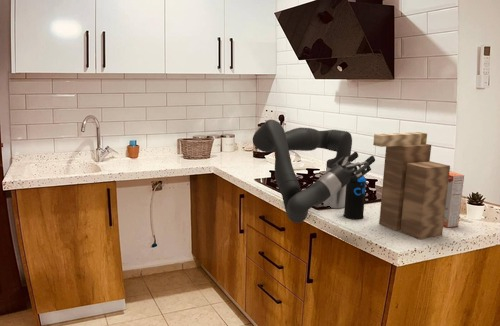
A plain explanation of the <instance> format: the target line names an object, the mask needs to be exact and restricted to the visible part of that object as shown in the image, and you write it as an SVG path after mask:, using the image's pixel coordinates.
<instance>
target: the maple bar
mask: <svg viewBox="0 0 500 326" xmlns="http://www.w3.org/2000/svg"><path fill="white" fill-rule="evenodd" d="M427 139H428V133H427V132H418V131H416V132H396V133H393V132H392V133H374V135H373V144H372V145H373V146H376V147H381V148H382V147H383V148H386V147H387V146H402V145H418V144H427V142H428V141H427Z"/></svg>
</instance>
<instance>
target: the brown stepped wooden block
mask: <svg viewBox="0 0 500 326" xmlns="http://www.w3.org/2000/svg"><path fill="white" fill-rule="evenodd" d="M431 152H432V144H429V143H426V144H418V145H402V146H387V147H385V154H384V155H385V156H384V166H383V176H382V177H383V179H382V189H381V198H380V199H381V200H380V209H379V210H380V211H379V220H378V221H379V222H378V224H379V225H380V226H383V227H386V228H387V229H390V230H393V231H395V232H400V233H402V234H405V235H407V236H410V237H411V238H412V237H413V238H415V239H417V240H423V239H427V238H434V237H438V236H443V230H444V226H443V223H444V214H445V206H446V197H447V189H448V180H449V172H450V171H451V170H450V169H451V165H448V164H444V163H439V162H434V161H431Z"/></svg>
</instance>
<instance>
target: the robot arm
mask: <svg viewBox="0 0 500 326" xmlns="http://www.w3.org/2000/svg"><path fill="white" fill-rule="evenodd" d="M252 144H253V146H255V148H256V149H258V150H259V151H262V152H265V153H273V152H274V158H275V159H274V177H275V178H274V179H275V181H276V184H277V186H278V189H279V191H280V195H281V197H282V201H283V206H284V209H285V214H286V216H287V217H288V219H289V220H290V222H293V223H295V224H296V223H297V224H300V223H303V222H304V221H305V220H306V219H307V217H308V213H309V210H310V209H311V208H312V207H314V206H320V205H321V204H323V207H327V206H330V207H331V209H342V208H344V207H345V194H346V185H347V184H348V183H349V181H350V178H351V177H353V176H357V178H358V179H359V178H361V177H362V176H364V177H365V175H366V174H367V173H369V172H370V171H372V168H371V165H372V164H373V163H375V161H376V158H375V156H374V155H370V156H369V157H367V158H366V159H365V160H364V161H361V162H355V163H354V161H355V160H356V159H357V158H359V153H358V152H357V151H354V152H353V153H352V149H353V148H352V147H353V138H352V134H351V133H350V132H349V131H345V130H341V129H340V130H338V129H325V130H318V129H315V128H311V127H310V128H309V127H296V128H293V129H290V130H287V131H285V129H284V127H283V125H281V124H280V123H279V121H277V120H274V119H268V120H266V121H265V122H264V123H263V124H262V125H261V126H260V127H259V128H258V129H257V130H256V131H255V132H254V134H253V136H252ZM316 149H324V150H328V151H331V152H336V154H335V157H333V158H330V159H327V160H326V167H325V168H326V169H325V170H326V171H325V173H324V174H323V175H321V176H320V177H319V179H317V180H316V181H315V182H314V183H312V184H311V185H309V187H307V188H305V189H303V190H301V186H300V183H299V180H298V178H297V175H296V172H295V170H294V167H293V163H292V159H291V154H290V151H301V152H303V151H304V152H306V151H307V152H309V151H314V150H316ZM352 162H353V163H352ZM357 168H359V169H357ZM330 207H329V208H330Z"/></svg>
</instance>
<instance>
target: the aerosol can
mask: <svg viewBox="0 0 500 326" xmlns="http://www.w3.org/2000/svg"><path fill="white" fill-rule="evenodd" d="M357 169H359V167H357ZM367 181H368V180H367V178H366V177H365V175H364V176H362V177H361V178H359V179H358V178H357V176H353V177H351V178H350V181H349V183H348V184H347V185H346V194H345V207H343V208H344V209H343V217H344V218H346V219H348V220H362V219H364V217H365V216H364V210H365V200H366V199H365V198H366V188H367V187H366V185H367Z"/></svg>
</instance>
